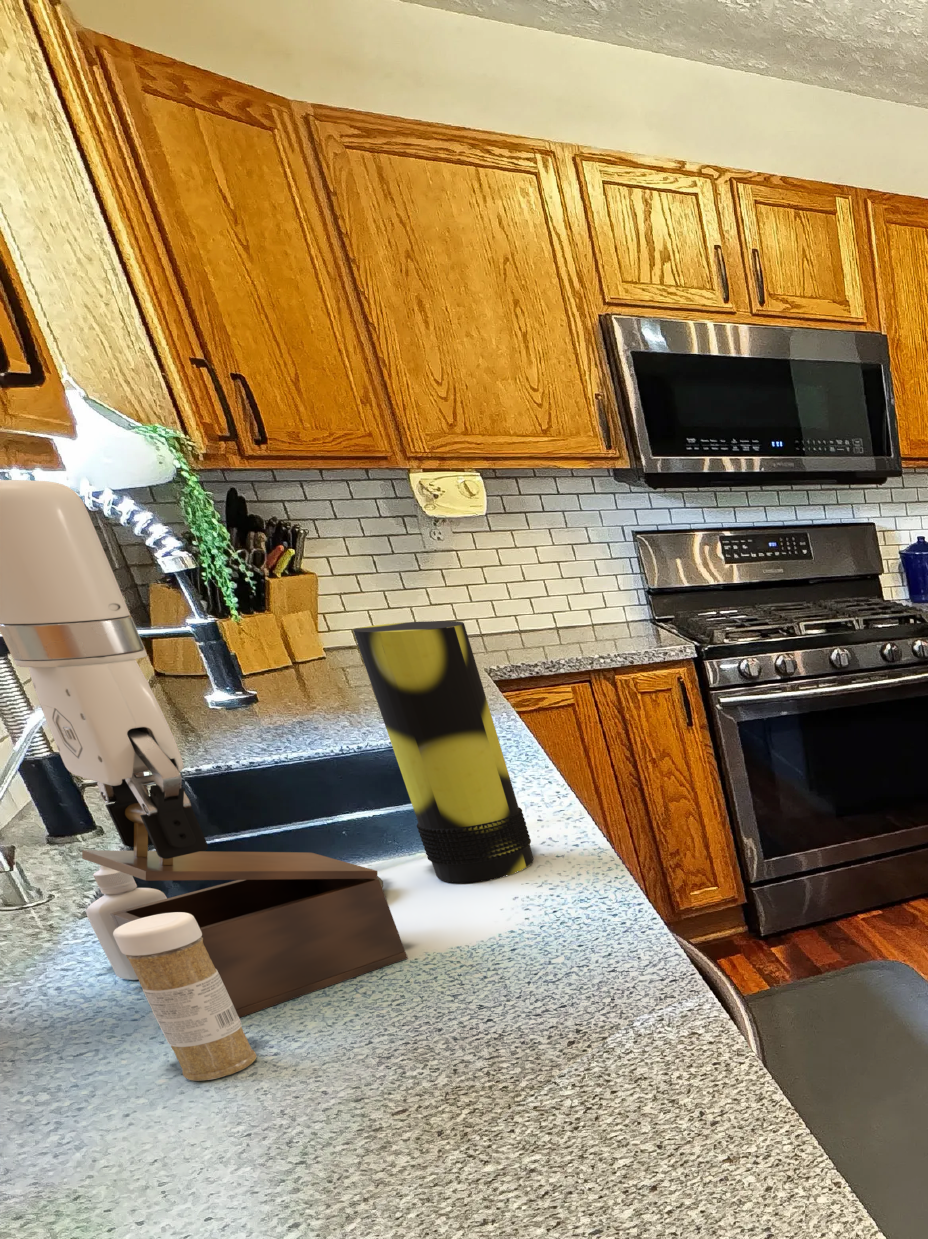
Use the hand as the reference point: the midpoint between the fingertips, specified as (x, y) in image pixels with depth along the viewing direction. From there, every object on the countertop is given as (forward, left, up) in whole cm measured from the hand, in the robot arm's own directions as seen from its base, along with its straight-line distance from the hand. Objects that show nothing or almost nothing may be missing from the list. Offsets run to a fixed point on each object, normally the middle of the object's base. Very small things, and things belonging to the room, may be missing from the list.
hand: (166, 846), depth 89 cm
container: (+31, +14, -15) cm, 37 cm away
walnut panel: (+4, 0, -4) cm, 5 cm away
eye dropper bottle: (-1, +14, -15) cm, 21 cm away
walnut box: (+4, 0, -15) cm, 16 cm away
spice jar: (-7, -16, -15) cm, 23 cm away
